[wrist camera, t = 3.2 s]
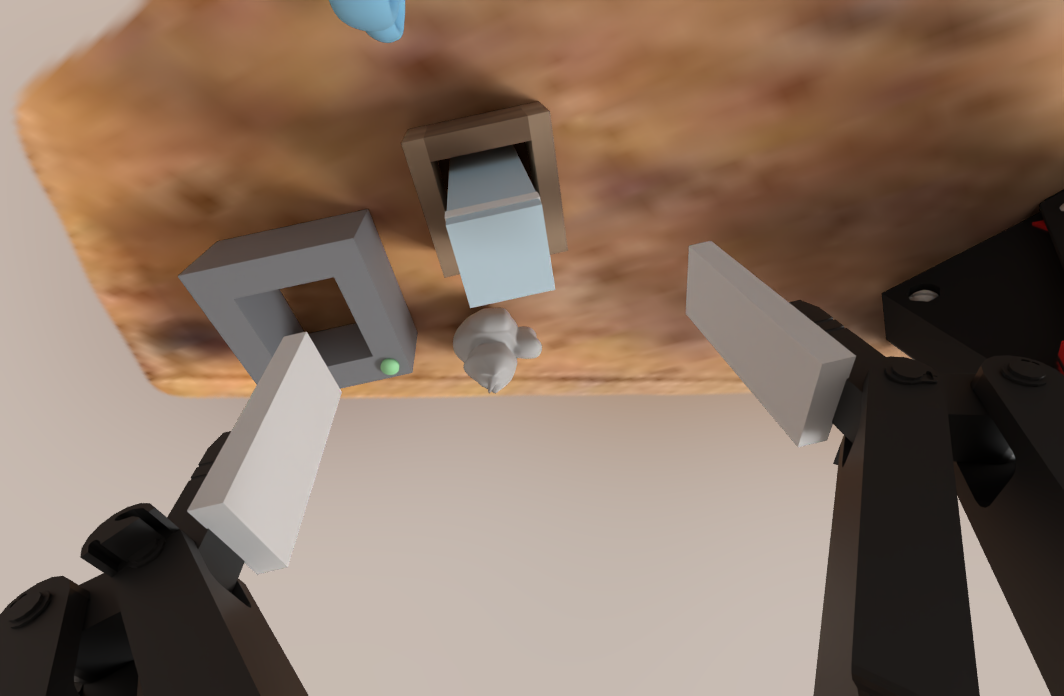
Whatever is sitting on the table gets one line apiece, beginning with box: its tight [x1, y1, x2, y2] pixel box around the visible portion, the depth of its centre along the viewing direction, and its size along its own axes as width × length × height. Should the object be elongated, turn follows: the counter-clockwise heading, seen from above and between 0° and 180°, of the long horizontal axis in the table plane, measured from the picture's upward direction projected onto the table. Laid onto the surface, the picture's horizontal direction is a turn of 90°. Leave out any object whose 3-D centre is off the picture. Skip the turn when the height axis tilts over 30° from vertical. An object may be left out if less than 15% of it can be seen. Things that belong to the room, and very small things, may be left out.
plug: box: [445, 144, 555, 308], centre depth 24 cm, size 4×4×12 cm
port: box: [178, 209, 418, 388], centre depth 29 cm, size 10×10×5 cm
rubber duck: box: [453, 307, 542, 393], centre depth 32 cm, size 5×7×8 cm
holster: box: [401, 101, 568, 278], centre depth 27 cm, size 8×8×4 cm
